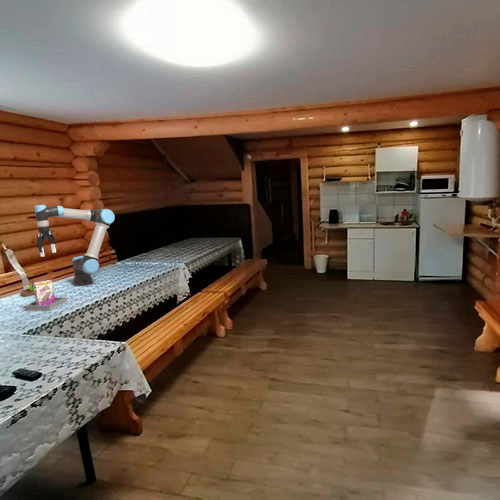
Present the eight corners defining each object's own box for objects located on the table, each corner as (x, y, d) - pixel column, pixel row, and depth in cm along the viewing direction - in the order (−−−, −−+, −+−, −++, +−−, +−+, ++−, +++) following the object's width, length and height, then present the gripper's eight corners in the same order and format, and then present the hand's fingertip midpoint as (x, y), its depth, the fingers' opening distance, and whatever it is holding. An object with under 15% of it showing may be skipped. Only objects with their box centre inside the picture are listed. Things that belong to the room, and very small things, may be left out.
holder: (43, 302, 273) (43, 297, 272) (66, 301, 270) (66, 297, 269) (25, 310, 255) (24, 305, 255) (49, 310, 252) (49, 305, 252)
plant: (49, 287, 314) (47, 274, 312) (49, 293, 297) (47, 279, 295) (21, 292, 305) (19, 278, 303) (19, 298, 288) (17, 284, 286)
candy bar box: (38, 307, 257) (34, 284, 254) (36, 306, 260) (32, 283, 257) (56, 303, 264) (52, 280, 261) (53, 302, 268) (50, 279, 265)
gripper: (49, 224, 294) (54, 251, 298) (27, 229, 269) (32, 258, 273) (58, 223, 292) (63, 250, 297) (36, 228, 268) (42, 258, 272)
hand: (48, 254), depth 285 cm, fingers open, 13 cm apart
